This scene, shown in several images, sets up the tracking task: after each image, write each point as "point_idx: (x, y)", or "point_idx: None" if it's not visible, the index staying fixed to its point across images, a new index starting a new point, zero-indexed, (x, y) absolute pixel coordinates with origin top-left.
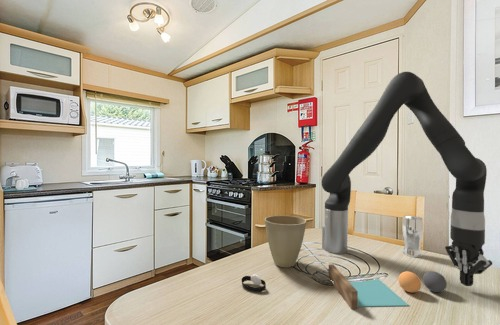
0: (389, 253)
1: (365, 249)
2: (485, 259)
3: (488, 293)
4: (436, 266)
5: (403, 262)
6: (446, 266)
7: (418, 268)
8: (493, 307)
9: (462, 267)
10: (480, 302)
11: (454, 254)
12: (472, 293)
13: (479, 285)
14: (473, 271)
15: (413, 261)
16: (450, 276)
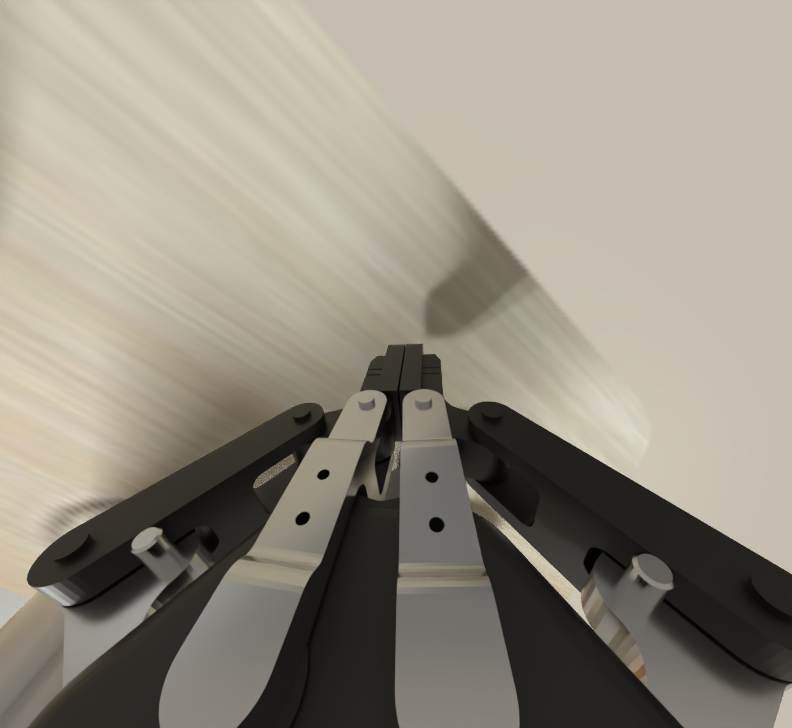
0: (16, 422)
1: (38, 489)
2: (767, 705)
3: (438, 228)
4: (75, 275)
5: (123, 424)
6: (21, 188)
7: (176, 400)
8: (580, 345)
9: (389, 466)
10: (526, 368)
11: (236, 530)
12: (437, 334)
13: (323, 186)
14: (514, 489)
15: (70, 368)
16: (225, 295)
